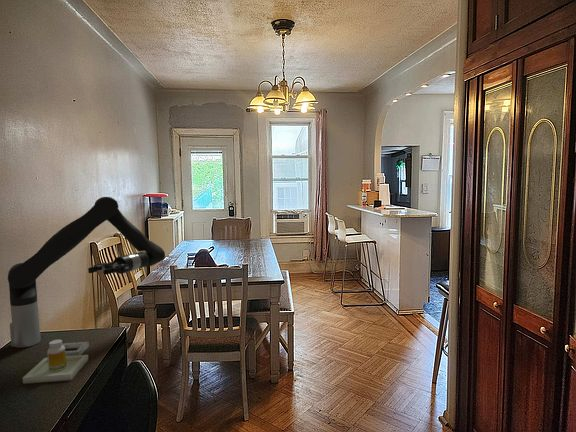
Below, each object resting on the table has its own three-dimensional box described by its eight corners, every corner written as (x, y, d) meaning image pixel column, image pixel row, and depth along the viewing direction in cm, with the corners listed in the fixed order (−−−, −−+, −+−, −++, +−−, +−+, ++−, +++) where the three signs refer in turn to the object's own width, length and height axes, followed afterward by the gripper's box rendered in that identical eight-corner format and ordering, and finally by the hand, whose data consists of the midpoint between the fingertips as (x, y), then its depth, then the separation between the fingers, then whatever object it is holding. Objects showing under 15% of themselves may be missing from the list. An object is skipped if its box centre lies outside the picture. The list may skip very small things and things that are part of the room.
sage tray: (22, 383, 129) (22, 377, 129) (45, 362, 144) (45, 357, 144) (71, 380, 131) (70, 374, 131) (88, 359, 146) (88, 354, 146)
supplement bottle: (68, 368, 138) (66, 341, 137) (51, 373, 134) (49, 346, 133) (63, 363, 141) (61, 337, 141) (46, 369, 137) (44, 342, 137)
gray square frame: (52, 358, 148) (51, 353, 148) (63, 347, 157) (63, 343, 157) (79, 356, 149) (78, 351, 149) (88, 346, 158) (88, 341, 158)
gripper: (114, 254, 175) (83, 261, 160) (139, 255, 169) (109, 263, 155) (115, 270, 176) (84, 279, 161) (140, 272, 170) (110, 282, 155)
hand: (96, 271), depth 158 cm, fingers open, 8 cm apart
